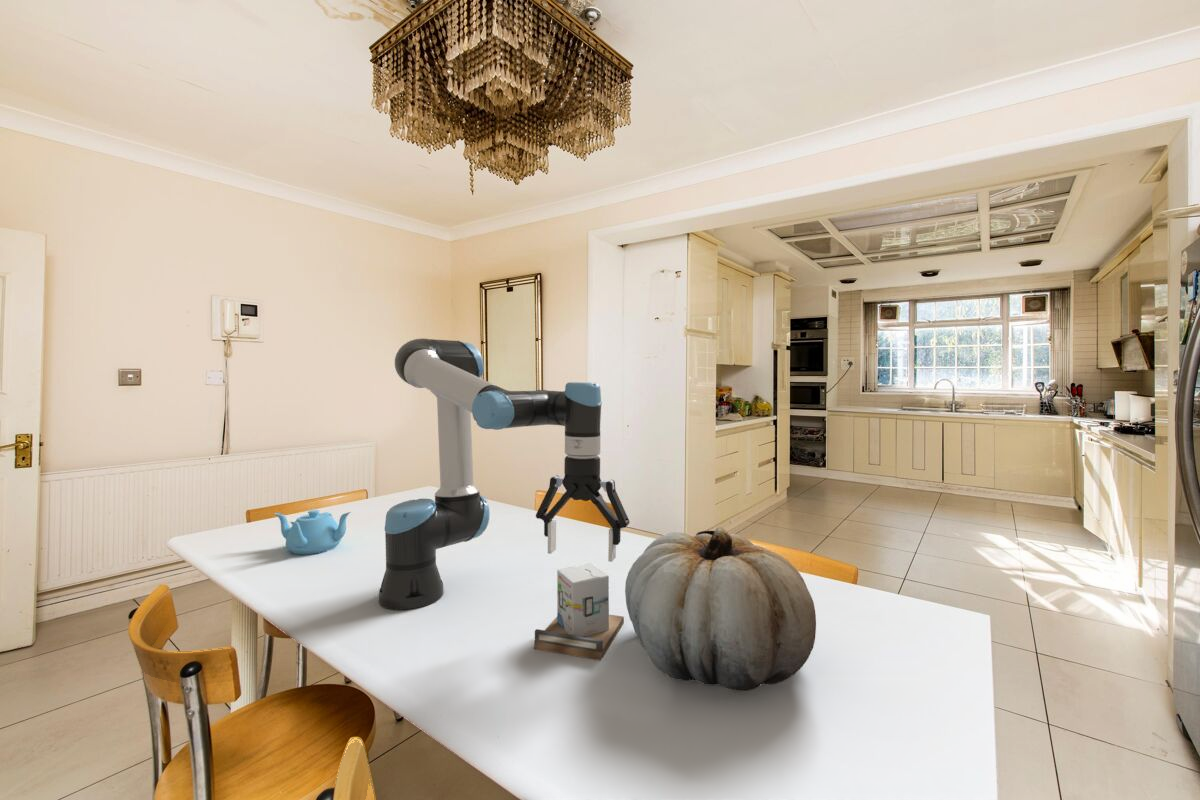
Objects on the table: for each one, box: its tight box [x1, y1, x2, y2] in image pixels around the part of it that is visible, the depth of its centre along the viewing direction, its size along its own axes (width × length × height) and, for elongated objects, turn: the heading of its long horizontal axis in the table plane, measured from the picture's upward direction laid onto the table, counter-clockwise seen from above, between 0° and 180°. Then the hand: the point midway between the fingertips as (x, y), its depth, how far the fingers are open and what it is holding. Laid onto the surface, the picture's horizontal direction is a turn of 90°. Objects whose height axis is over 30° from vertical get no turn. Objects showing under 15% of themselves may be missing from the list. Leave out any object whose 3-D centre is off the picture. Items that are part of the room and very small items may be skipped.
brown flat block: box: [533, 613, 625, 661], centre depth 106 cm, size 14×16×4 cm
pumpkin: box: [624, 527, 817, 692], centre depth 98 cm, size 37×36×25 cm
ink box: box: [556, 563, 610, 637], centre depth 107 cm, size 8×8×12 cm
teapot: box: [273, 509, 352, 555], centre depth 164 cm, size 17×19×12 cm
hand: (581, 555), depth 107 cm, fingers open, 13 cm apart
